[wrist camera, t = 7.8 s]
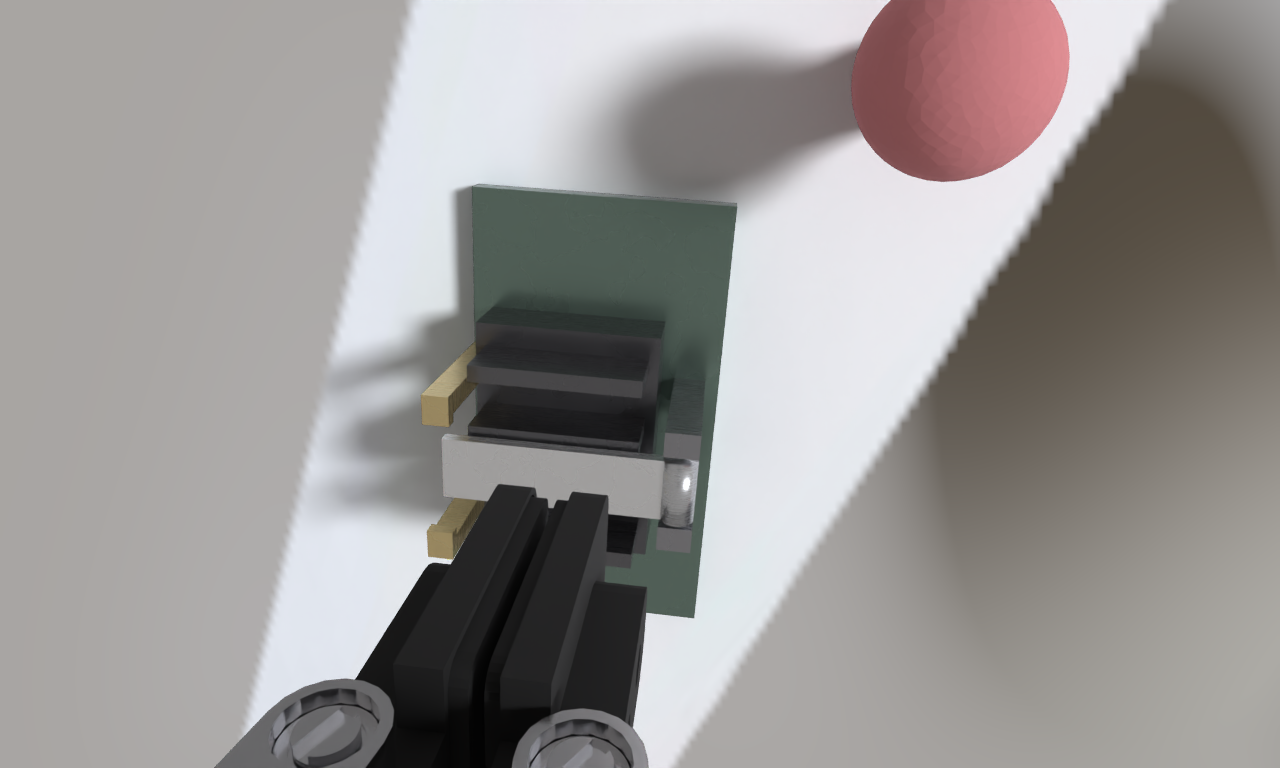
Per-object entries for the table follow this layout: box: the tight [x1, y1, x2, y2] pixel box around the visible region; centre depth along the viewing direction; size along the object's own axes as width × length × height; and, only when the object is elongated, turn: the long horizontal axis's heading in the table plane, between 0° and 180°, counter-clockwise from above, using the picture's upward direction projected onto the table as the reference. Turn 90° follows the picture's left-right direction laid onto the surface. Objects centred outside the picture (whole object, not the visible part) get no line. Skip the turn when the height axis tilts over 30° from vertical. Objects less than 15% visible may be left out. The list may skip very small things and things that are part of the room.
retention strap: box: [441, 434, 699, 527], centre depth 35 cm, size 3×12×2 cm, turn 86°
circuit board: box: [421, 184, 737, 618], centre depth 38 cm, size 24×13×9 cm, turn 177°
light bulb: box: [851, 0, 1069, 182], centre depth 30 cm, size 7×7×12 cm
